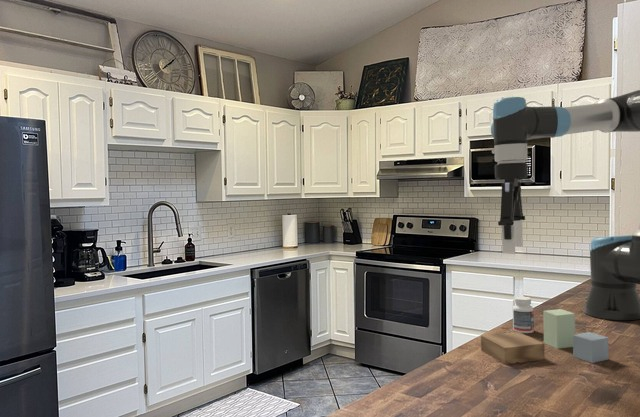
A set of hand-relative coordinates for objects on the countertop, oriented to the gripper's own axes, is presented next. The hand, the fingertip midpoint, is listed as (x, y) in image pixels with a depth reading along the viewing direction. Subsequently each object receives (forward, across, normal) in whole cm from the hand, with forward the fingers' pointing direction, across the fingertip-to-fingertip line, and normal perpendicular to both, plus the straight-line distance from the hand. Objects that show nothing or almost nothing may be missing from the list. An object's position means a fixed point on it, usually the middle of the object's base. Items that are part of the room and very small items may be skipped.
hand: (513, 249), depth 129 cm
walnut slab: (+24, +8, 0) cm, 25 cm away
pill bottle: (+24, -13, 0) cm, 27 cm away
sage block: (+24, -4, +10) cm, 26 cm away
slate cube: (+24, +4, +17) cm, 29 cm away
